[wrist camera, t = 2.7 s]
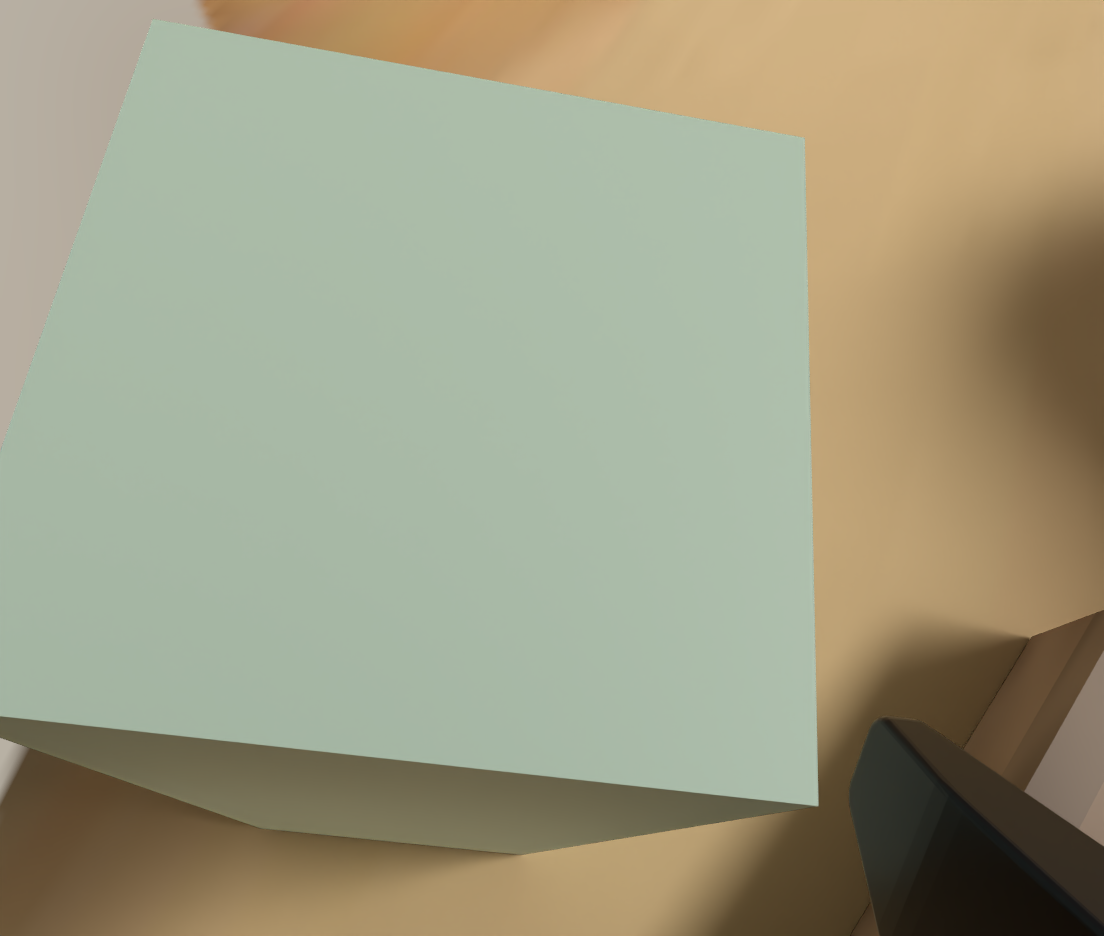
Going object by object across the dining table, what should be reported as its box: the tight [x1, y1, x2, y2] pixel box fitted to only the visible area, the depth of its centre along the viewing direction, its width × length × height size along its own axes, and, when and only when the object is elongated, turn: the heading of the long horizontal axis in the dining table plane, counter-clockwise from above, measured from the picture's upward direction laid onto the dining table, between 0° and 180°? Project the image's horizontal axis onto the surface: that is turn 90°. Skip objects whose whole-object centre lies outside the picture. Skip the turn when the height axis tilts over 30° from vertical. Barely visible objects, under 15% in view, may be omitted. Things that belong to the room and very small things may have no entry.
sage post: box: [0, 19, 818, 855], centre depth 12 cm, size 4×4×13 cm
